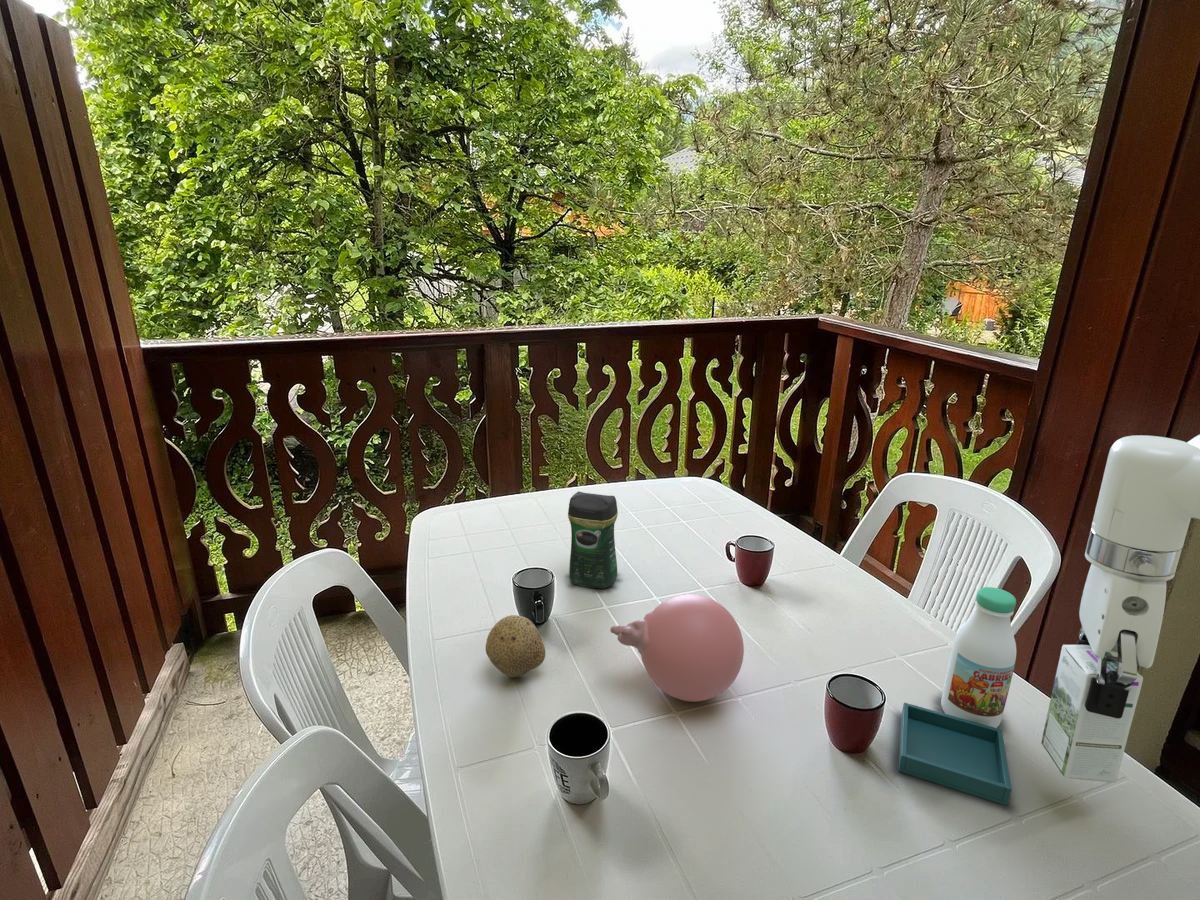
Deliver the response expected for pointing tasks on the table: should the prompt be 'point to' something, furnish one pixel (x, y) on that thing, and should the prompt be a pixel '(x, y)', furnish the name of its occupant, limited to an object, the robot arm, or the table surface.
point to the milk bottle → (982, 661)
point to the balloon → (687, 646)
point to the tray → (954, 753)
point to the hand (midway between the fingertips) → (1094, 691)
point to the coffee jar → (592, 539)
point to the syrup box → (1085, 720)
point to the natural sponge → (515, 646)
